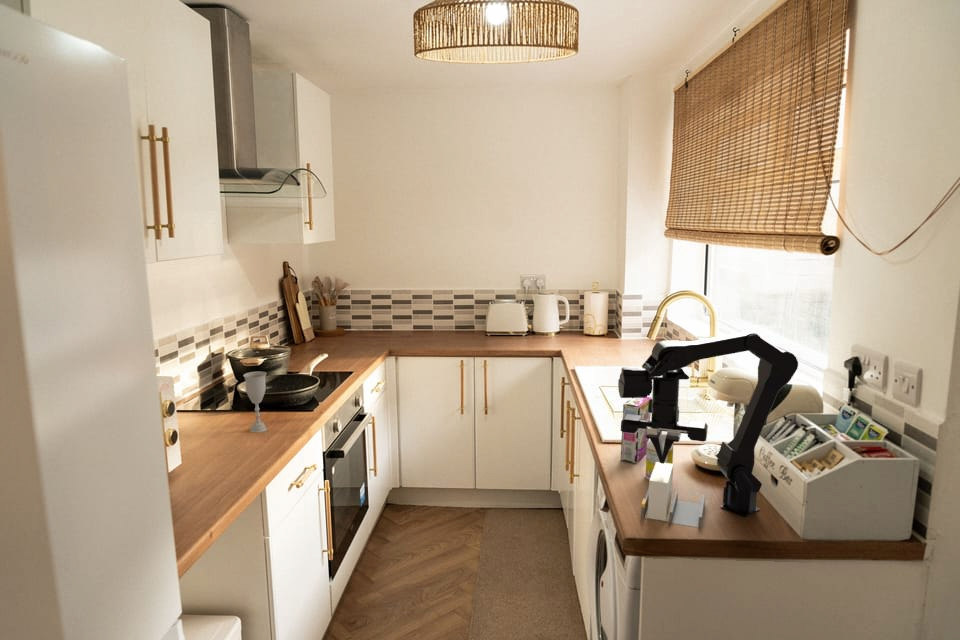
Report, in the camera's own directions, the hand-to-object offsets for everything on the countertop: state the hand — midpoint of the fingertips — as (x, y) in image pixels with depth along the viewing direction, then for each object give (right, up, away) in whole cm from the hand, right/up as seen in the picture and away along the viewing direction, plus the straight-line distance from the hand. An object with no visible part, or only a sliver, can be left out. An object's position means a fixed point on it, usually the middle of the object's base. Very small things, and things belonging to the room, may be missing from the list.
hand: (662, 462), depth 157 cm
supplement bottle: (+4, -9, +20) cm, 22 cm away
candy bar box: (+2, -6, +36) cm, 36 cm away
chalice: (-112, -2, +57) cm, 126 cm away
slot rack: (+3, -12, +1) cm, 12 cm away
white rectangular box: (0, -11, +2) cm, 11 cm away
